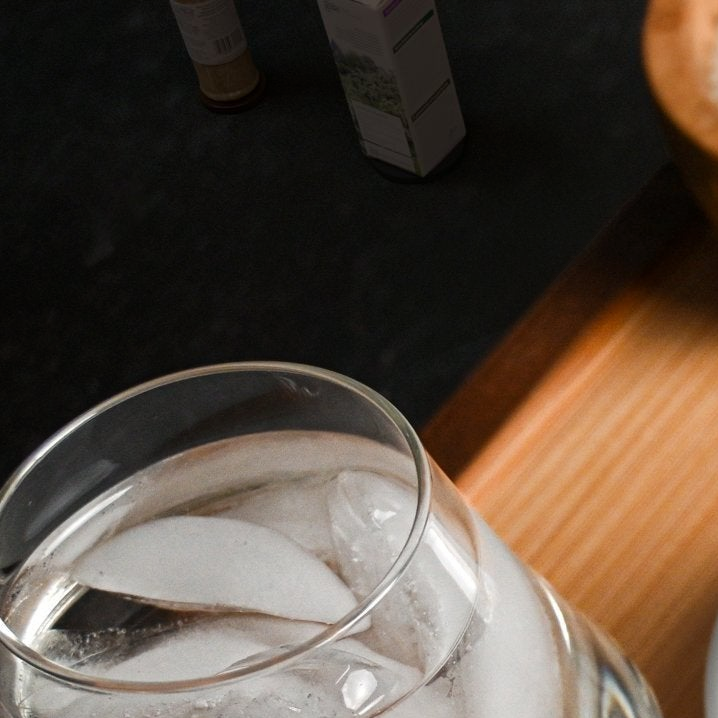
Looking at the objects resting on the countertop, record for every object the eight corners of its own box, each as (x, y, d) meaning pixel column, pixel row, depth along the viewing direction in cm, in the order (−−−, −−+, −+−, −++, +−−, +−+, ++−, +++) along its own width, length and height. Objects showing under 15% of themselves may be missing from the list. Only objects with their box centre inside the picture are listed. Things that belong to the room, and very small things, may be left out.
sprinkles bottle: (248, 58, 147) (193, -106, 136) (269, 91, 145) (215, -73, 134) (191, 79, 146) (131, -84, 135) (212, 112, 144) (153, -51, 133)
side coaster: (389, 196, 139) (387, 189, 139) (357, 140, 143) (355, 133, 142) (479, 164, 141) (478, 157, 140) (446, 109, 144) (444, 102, 143)
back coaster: (211, 122, 144) (208, 115, 144) (191, 83, 147) (188, 76, 147) (277, 100, 145) (274, 93, 145) (256, 61, 148) (254, 54, 148)
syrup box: (469, 134, 141) (428, -45, 129) (422, 182, 139) (375, 4, 127) (407, 110, 143) (360, -68, 131) (359, 158, 141) (307, -20, 128)
